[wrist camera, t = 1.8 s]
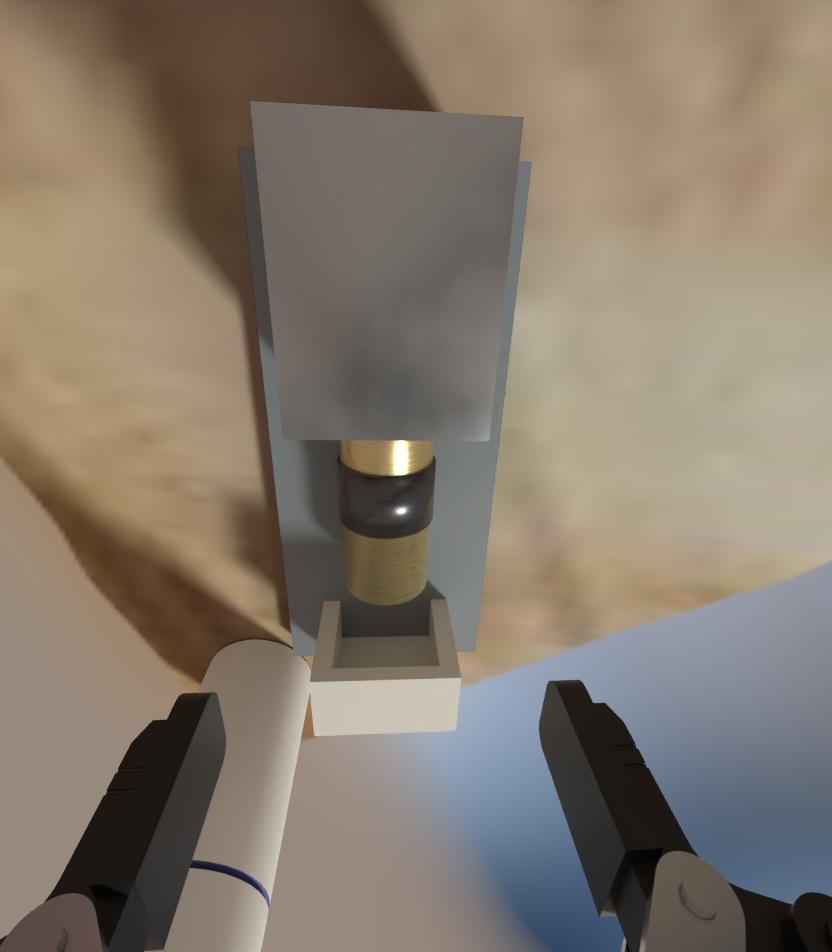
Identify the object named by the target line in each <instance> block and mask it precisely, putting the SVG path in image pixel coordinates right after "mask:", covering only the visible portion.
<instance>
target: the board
mask: <svg viewBox="0 0 832 952" xmlns="http://www.w3.org/2000/svg"><path fill="white" fill-rule="evenodd" d="M238 154H239V163H240V172H241V181H242V190H243V199H244V208H245V218H246V227H247V236H248V245H249V254H250V263H251V272H252V281H253V290H254V299H255V308H256V317H257V327H258V336H259V345H260V354H261V363H262V372H263V381H264V390H265V399H266V408H267V417H268V426H269V436H270V445H271V454H272V463H273V472H274V481H275V490H276V499H277V508H278V517H279V526H280V535H281V545H282V554H283V563H284V572H285V581H286V590H287V599H288V608H289V617H290V626H291V635H292V644H293V654H294V656H314V654H315V648H316V643H317V637H318V632H319V626H320V621H321V615H322V610H323V604H324V601H341V622H342V638H348V637H392V636H429V619H430V601H431V599H447V605H448V610H449V615H450V621H451V626H452V632H453V637H454V642H455V648H456V652H475V646H476V637H477V629H478V620H479V611H480V603H481V594H482V586H483V577H484V568H485V560H486V551H487V543H488V534H489V525H490V517H491V508H492V499H493V491H494V482H495V474H496V465H497V456H498V448H499V439H500V430H501V422H502V413H503V405H504V396H505V387H506V379H507V370H508V362H509V353H510V344H511V336H512V327H513V318H514V310H515V301H516V293H517V284H518V275H519V267H520V258H521V250H522V241H523V232H524V224H525V215H526V206H527V198H528V189H529V181H530V172H531V163H532V162H521V161H519V164H518V174H517V183H516V193H515V202H514V211H513V221H512V230H511V240H510V249H509V259H508V268H507V277H506V287H505V296H504V306H503V315H502V325H501V334H500V343H499V353H498V362H497V372H496V381H495V391H494V400H493V409H492V419H491V428H490V438H489V441H434V448H433V455H434V456H435V459H436V470H435V488H434V507H433V519H432V521H431V523H430V526H429V545H428V565H427V582H426V585H425V588H424V589H423V591H422V592H421V593H420V594H419V595H418V596H416V597H415V598H413V599H411V600H409V601H407V602H404V603H401V604H396V605H374V604H370V603H366V602H364V601H361V600H359V599H358V598H356V597H355V596H353V595H352V594H351V593H350V592H349V590H348V589H347V587H346V583H345V563H344V539H343V524H342V523H341V521H340V517H339V495H338V473H337V458H338V456H339V454H340V444H339V440H283V436H282V426H281V416H280V405H279V395H278V385H277V374H276V364H275V354H274V344H273V333H272V323H271V313H270V303H269V292H268V282H267V272H266V262H265V251H264V241H263V231H262V220H261V210H260V200H259V190H258V179H257V169H256V159H255V149H254V147H238Z"/></svg>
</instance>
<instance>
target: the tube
mask: <svg viewBox="0 0 832 952" xmlns="http://www.w3.org/2000/svg"><path fill="white" fill-rule="evenodd" d="M339 444H340V454H339V456H338V458H337V473H338V495H339V517H340V521H341V523H342V524H343V539H344V563H345V583H346V587H347V589H348V590H349V592H350V593H351V594H352V595H353V596H355V597H356V598H358V599H359V600H361V601H364V602H366V603H370V604H374V605H396V604H401V603H404V602H407V601H409V600H411V599H413V598H415V597H416V596H418V595H419V594H420V593H421V592H422V591H423V589H424V588H425V585H426V582H427V565H428V545H429V526H430V523H431V521H432V519H433V507H434V488H435V470H436V459H435V456H434V455H433V448H434V441H385V440H339Z"/></svg>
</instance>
